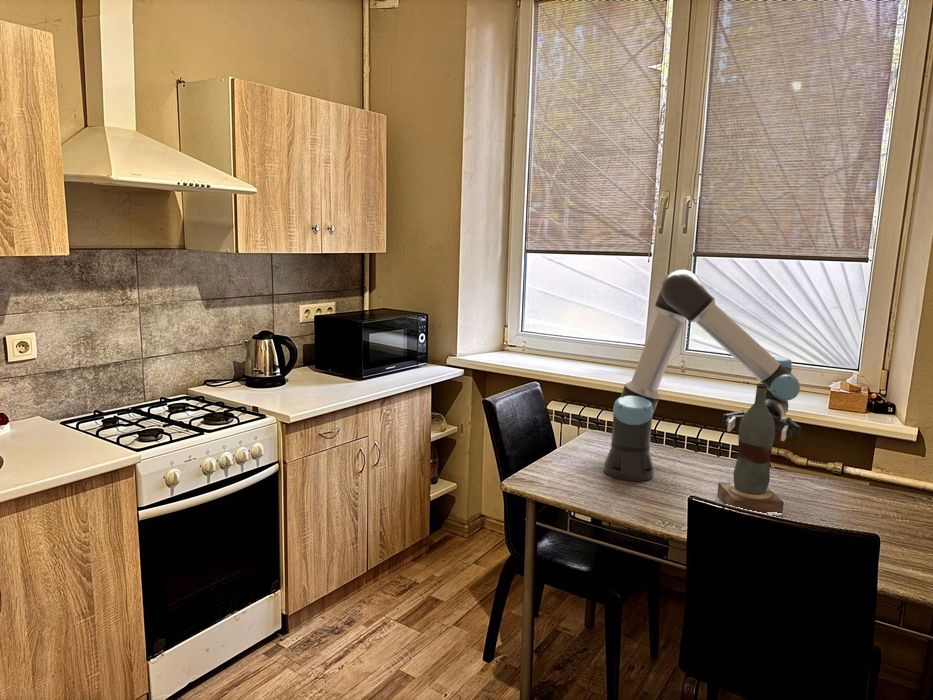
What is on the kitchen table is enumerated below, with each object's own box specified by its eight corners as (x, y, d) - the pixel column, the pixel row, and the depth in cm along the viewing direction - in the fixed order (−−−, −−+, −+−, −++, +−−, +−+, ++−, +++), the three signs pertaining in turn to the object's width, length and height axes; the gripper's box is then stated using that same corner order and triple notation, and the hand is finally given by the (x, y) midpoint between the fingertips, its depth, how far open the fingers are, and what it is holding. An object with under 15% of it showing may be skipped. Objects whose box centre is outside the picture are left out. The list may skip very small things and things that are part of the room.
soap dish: (717, 495, 191) (718, 480, 190) (762, 497, 190) (764, 482, 190) (733, 514, 178) (735, 497, 177) (782, 516, 178) (784, 500, 177)
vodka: (741, 495, 179) (754, 387, 174) (726, 483, 188) (737, 380, 183) (774, 496, 179) (788, 388, 174) (757, 483, 188) (770, 381, 183)
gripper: (813, 434, 190) (805, 453, 172) (723, 419, 203) (706, 435, 186) (816, 409, 189) (808, 426, 171) (725, 395, 202) (708, 410, 184)
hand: (755, 431), depth 178 cm, fingers open, 13 cm apart
